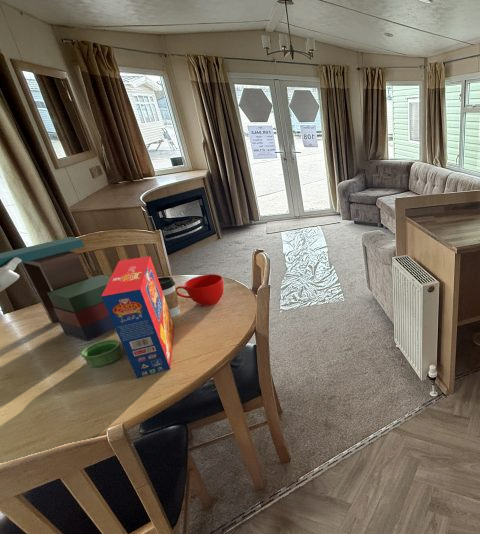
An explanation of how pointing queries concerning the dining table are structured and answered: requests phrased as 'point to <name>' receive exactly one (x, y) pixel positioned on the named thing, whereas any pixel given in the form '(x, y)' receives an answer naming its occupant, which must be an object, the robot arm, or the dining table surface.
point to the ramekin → (102, 352)
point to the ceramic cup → (204, 289)
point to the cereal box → (140, 315)
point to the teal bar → (41, 250)
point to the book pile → (83, 308)
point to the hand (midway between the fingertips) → (11, 256)
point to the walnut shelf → (54, 276)
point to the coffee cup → (170, 295)
